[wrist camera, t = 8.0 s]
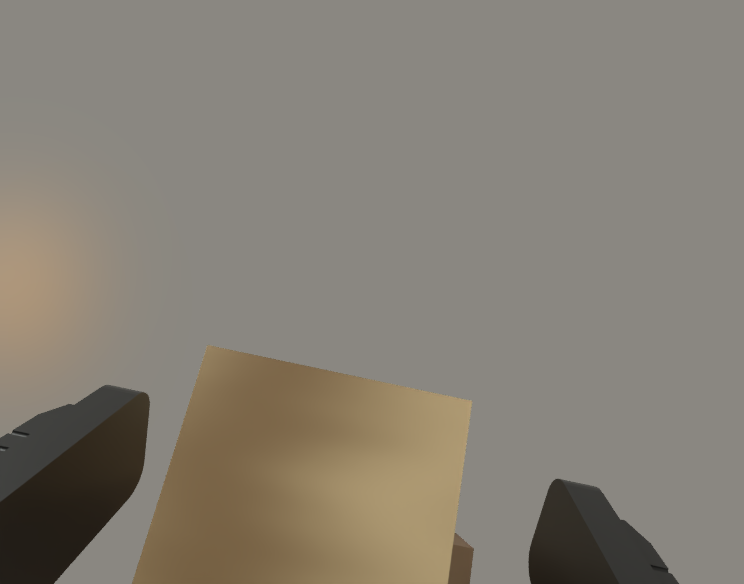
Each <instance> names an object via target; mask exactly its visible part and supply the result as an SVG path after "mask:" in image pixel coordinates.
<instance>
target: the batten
mask: <svg viewBox="0 0 744 584" xmlns="http://www.w3.org/2000/svg"><path fill="white" fill-rule="evenodd" d="M471 406H472V401H470V400H465V399H460V398H455V397H451V396H446V395H441V394H436V393H432V392H427V391H422V390H418V389H413V388H407V387H403V386H398V385H394V384H389V383H384V382H380V381H375V380H370V379H366V378H361V377H356V376H351V375H347V374H342V373H337V372H332V371H328V370H323V369H318V368H313V367H309V366H304V365H299V364H294V363H290V362H285V361H280V360H276V359H271V358H266V357H262V356H257V355H252V354H247V353H242V352H237V351H233V350H229V349H224V348H219V347H214V346H210V345H208V346H207V348H206V352H205V355H204V358H203V361H202V364H201V367H200V371H199V374H198V377H197V380H196V384H195V386H194V390H193V393H192V396H191V399H190V402H189V405H188V409H187V412H186V415H185V418H184V421H183V425H182V428H181V431H180V434H179V437H178V440H177V443H176V446H175V450H174V453H173V456H172V459H171V462H170V465H169V468H168V472H167V475H166V478H165V481H164V484H163V487H162V491H161V494H160V497H159V500H158V503H157V506H156V510H155V513H154V516H153V519H152V522H151V525H150V529H149V532H148V535H147V538H146V541H145V545H144V547H143V551H142V554H141V557H140V560H139V563H138V566H137V570H136V573H135V576H134V579H133V582H132V584H448V578H449V570H450V563H451V555H452V548H453V540H454V533H455V525H456V518H457V511H458V503H459V495H460V488H461V481H462V472H463V465H464V458H465V451H466V443H467V436H468V429H469V421H470V414H471Z"/></svg>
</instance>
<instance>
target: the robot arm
mask: <svg viewBox="0 0 744 584" xmlns="http://www.w3.org/2000/svg"><path fill="white" fill-rule="evenodd" d="M149 406H150V401H149V397H148V395H147V394H146V393H144V392H139V391H135V390H130V389H125V388H121V387H116V386H111V385H105V386H103V387H101V388H99V389H98V390H96V391H95V392H93V393H92V394H90V395H89V396H87V397H86V398H84V399H83V400H81V401H80V402H78V403H77V404H75V405H72V404H68V405H66V406H62V407H59V408H56V409H53V410H51V411H47V412H45V413H41V414H38V415H37V416H35V417H34V418H32V419H30V420H29V421H27V422H25V423H24V424H22V425H21V426H19V427H17V428H16V429H14V430H13V432H12V434H6V435H5V436H3V437H1V438H0V584H54V583H55V581H56V580H57V579H58V578H59V577H60V575H62V573H63V572H64V571H65V570H66V569H67V568H68V567H69V565H70V564H71V563H72V562H73V561H74V560H75V559H76V557H77V556H78V555H79V554H80V553H81V552H82V551H83V550H84V549H85V547H86V546H87V545H88V544H89V543H90V542H91V541H92V540H93V538H94V537H95V536H96V535H97V534H98V533H99V532H100V530H101V529H102V528H103V527H104V526H105V525H106V523H107V522H108V521H109V520H110V519H111V518H112V517H113V516H114V515H115V513H116V512H117V511H118V510H119V509H120V508H121V507H122V505H123V504H124V503H125V502H126V501H127V500H128V499H129V497H130V496H131V495H132V493H133V492H134V490H135V488H136V486H137V484H138V482H139V480H140V477H141V474H142V471H143V466H144V459H145V448H146V438H147V428H148V417H149ZM529 576H530V581H531V584H679V583H678V582H677V580H676V579H675V578H674V576H673V575H672V574H670V573H668V568H667V566H666V565H665V564H664V562H663V561H662V559H661V558H660V556H659V555H658V553H657V552H656V550H655V549H654V548H653V546H652V545H651V543H649V542H648V541H647V540H646V539H645V538H644V537H643V536H642V535H641V534H639V533H638V532H637V531H636V530H635V529H634V528H633V527H632V526H630V525H629V524H628V523H627V522H626V521H624V520H620V519H619V517H618V516H617V514H616V513H615V511H614V510H613V508H612V507H611V505H610V504H609V502H608V500H607V499H606V497H605V496H604V494H603V493H602V492H601V490H600V489H599V488H597V487H594V486H590V485H585V484H580V483H575V482H571V481H566V480H561V479H555V480H554V481H553V482H552V484H551V485H550V487H549V490H548V493H547V496H546V499H545V502H544V505H543V508H542V511H541V515H540V518H539V521H538V524H537V527H536V530H535V534H534V537H533V540H532V543H531V547H530V551H529Z"/></svg>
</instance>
